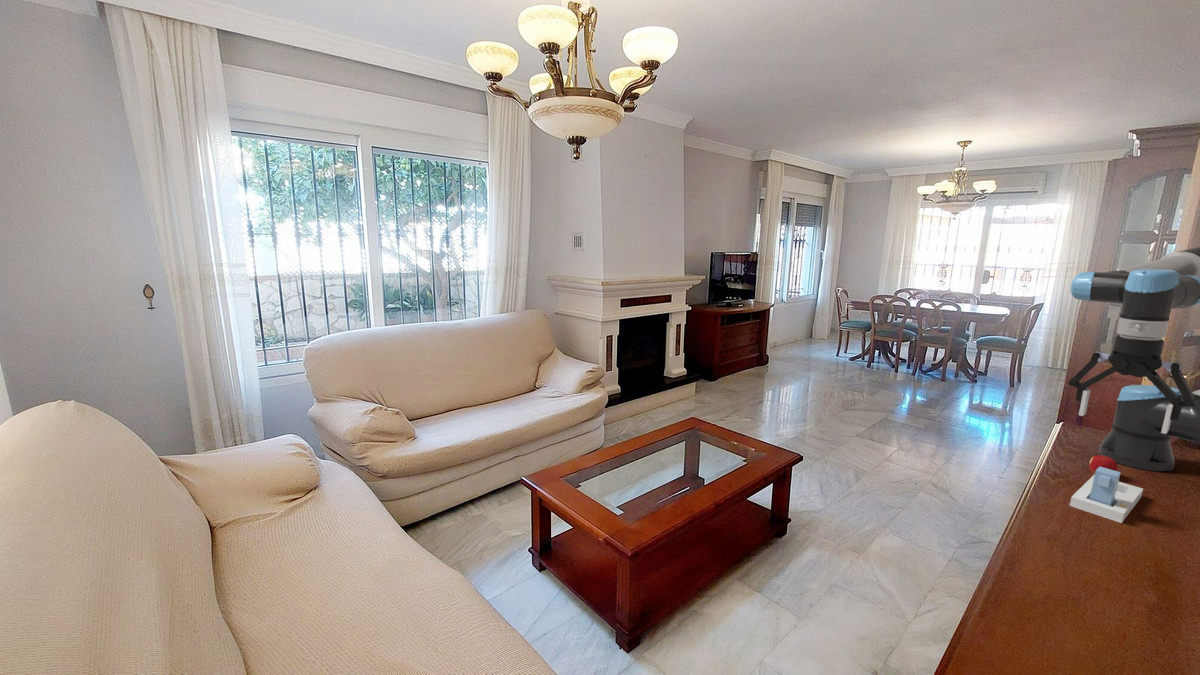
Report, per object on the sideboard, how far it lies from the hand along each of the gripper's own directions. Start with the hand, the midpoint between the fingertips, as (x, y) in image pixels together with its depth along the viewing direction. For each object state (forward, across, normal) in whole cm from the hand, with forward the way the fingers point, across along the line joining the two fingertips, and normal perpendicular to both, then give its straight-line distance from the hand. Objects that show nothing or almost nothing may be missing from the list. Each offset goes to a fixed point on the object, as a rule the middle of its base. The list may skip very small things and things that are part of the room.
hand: (1121, 423), depth 113 cm
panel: (+23, 0, +4) cm, 23 cm away
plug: (+22, 0, -2) cm, 22 cm away
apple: (+24, -5, +22) cm, 32 cm away
